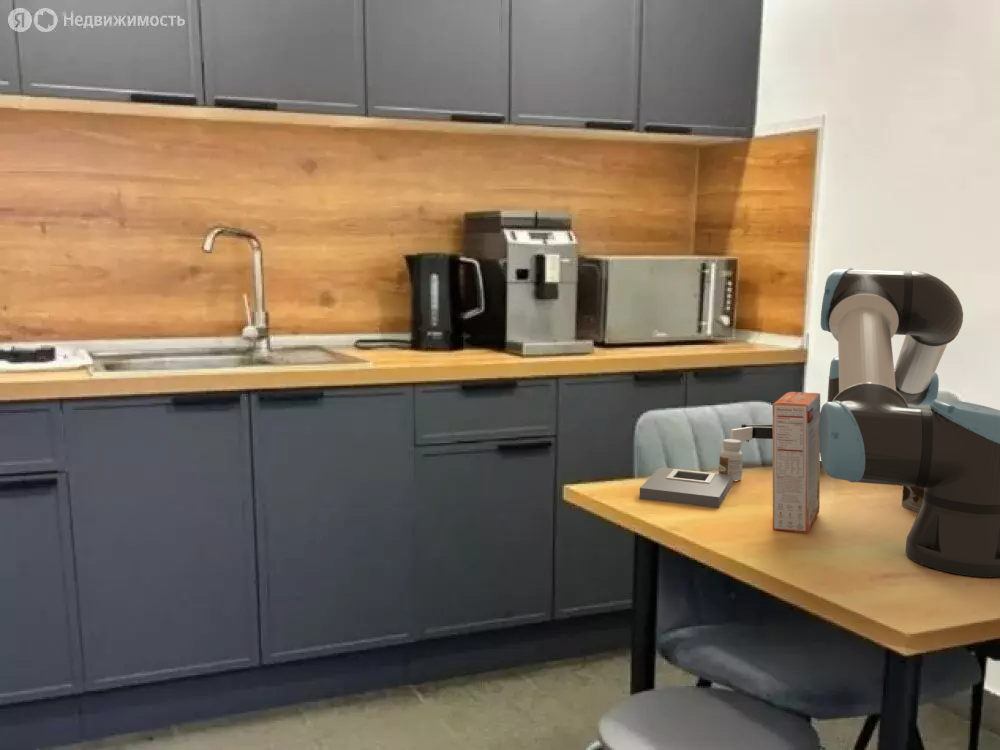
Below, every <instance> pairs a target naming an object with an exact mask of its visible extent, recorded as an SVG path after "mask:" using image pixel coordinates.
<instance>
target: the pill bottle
mask: <svg viewBox="0 0 1000 750" xmlns="http://www.w3.org/2000/svg"><path fill="white" fill-rule="evenodd" d="M722 448H723V449H722V450H721V451H720V453H719V465H718V474H727V475H732V482H736V481H735V480H740V481H741V480H742V475H743V460H744V459H743V458H744V457H743V456H744V454H743V452H742V451H741V449H742V442H741V441H740V440H735V439H730V438H726V439H723V441H722Z"/></svg>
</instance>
